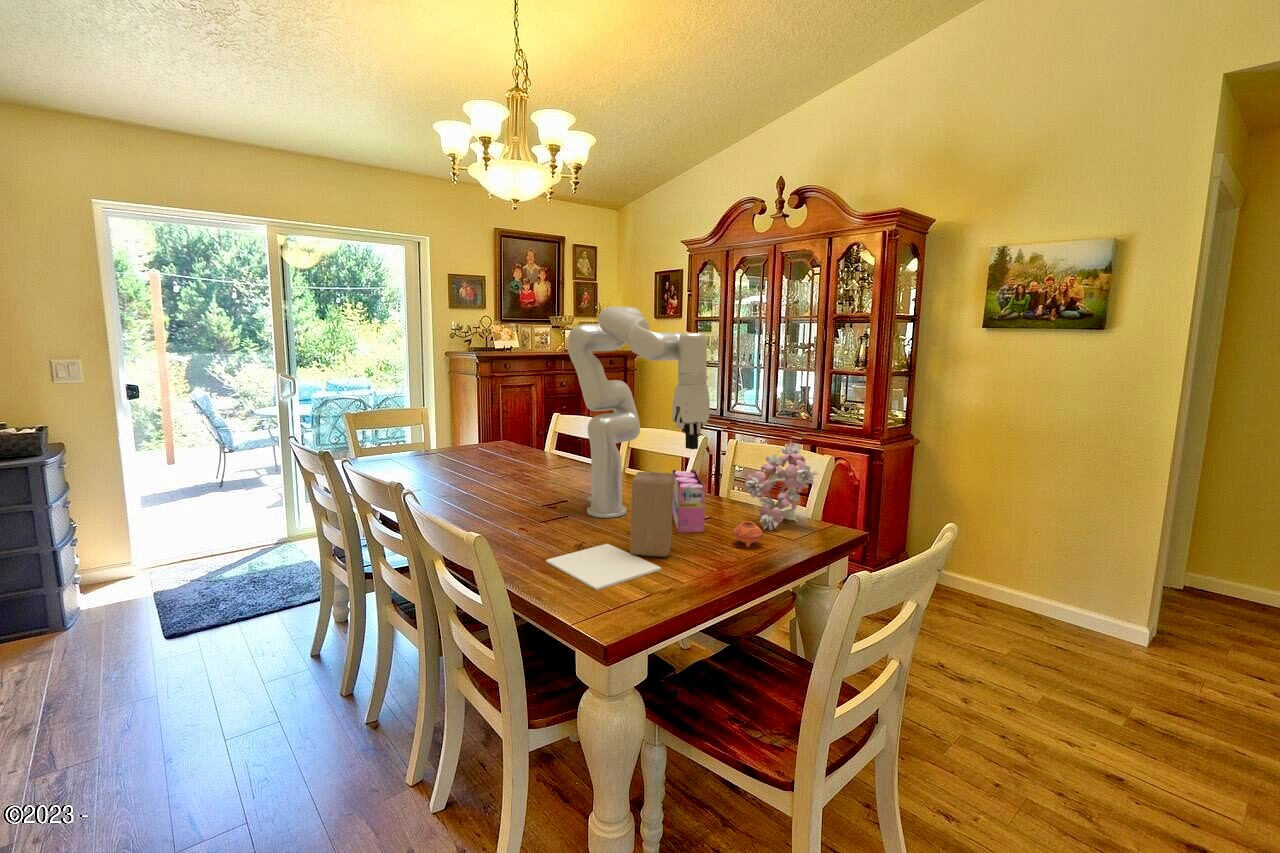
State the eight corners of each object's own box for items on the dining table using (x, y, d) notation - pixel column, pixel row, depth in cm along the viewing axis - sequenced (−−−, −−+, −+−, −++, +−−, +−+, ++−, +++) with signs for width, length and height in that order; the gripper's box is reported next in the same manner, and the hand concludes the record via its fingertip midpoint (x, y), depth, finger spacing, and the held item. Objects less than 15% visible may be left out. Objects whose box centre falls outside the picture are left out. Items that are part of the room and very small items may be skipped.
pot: (751, 536, 171) (755, 515, 169) (765, 551, 164) (770, 529, 162) (725, 538, 168) (729, 517, 166) (739, 554, 162) (743, 532, 159)
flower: (719, 509, 193) (733, 445, 179) (779, 494, 202) (796, 433, 188) (753, 553, 178) (771, 488, 164) (816, 536, 187) (838, 473, 173)
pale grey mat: (545, 562, 153) (545, 559, 152) (607, 545, 164) (607, 543, 164) (596, 590, 136) (596, 587, 136) (661, 569, 148) (661, 567, 147)
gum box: (670, 509, 199) (670, 468, 197) (694, 509, 199) (695, 468, 197) (677, 533, 175) (678, 487, 173) (705, 533, 175) (706, 486, 173)
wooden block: (670, 546, 164) (674, 472, 162) (668, 558, 154) (672, 480, 152) (633, 543, 165) (636, 470, 163) (629, 555, 155) (632, 478, 153)
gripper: (702, 378, 169) (701, 443, 172) (661, 380, 160) (661, 449, 163) (722, 379, 164) (721, 447, 166) (681, 382, 154) (680, 453, 157)
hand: (691, 448), depth 164 cm, fingers closed
